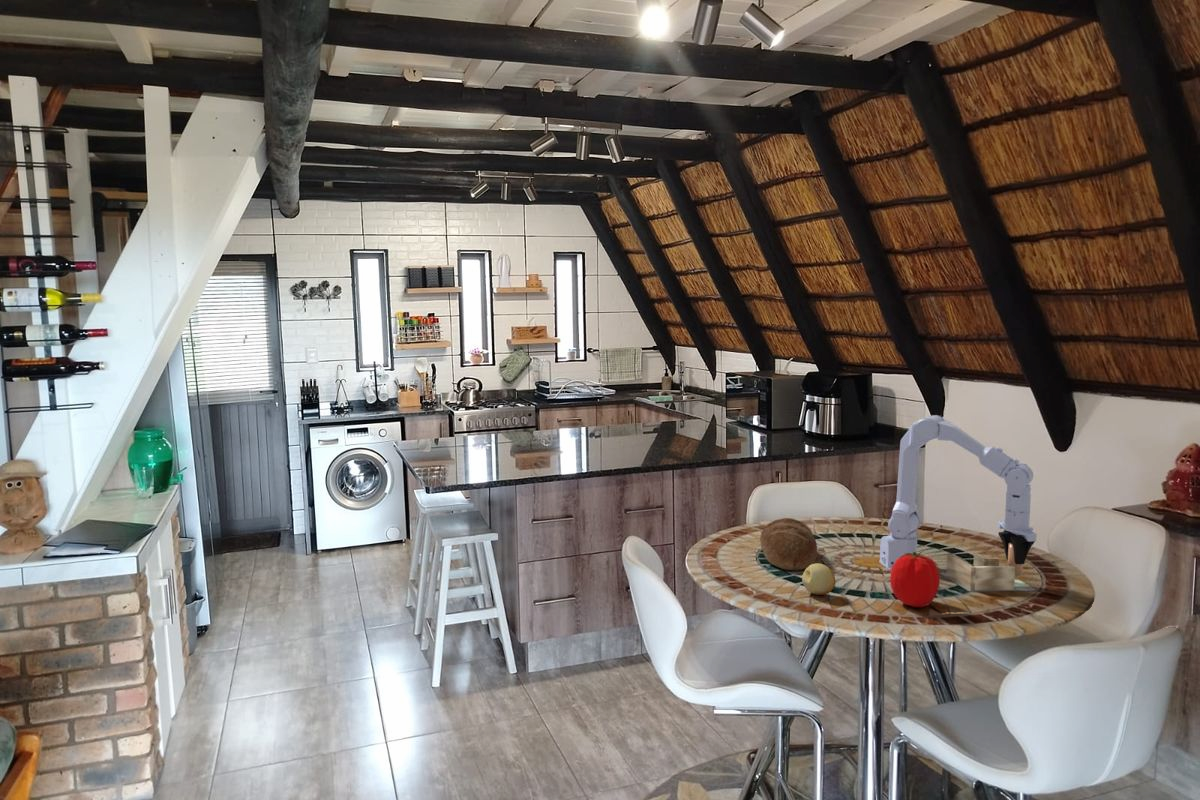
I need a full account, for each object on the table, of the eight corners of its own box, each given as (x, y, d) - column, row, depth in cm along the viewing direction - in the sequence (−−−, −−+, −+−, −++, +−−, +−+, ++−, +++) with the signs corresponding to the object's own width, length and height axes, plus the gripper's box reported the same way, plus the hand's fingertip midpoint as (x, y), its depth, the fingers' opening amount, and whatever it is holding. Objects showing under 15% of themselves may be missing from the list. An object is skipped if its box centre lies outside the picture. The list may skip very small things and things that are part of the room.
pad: (1010, 587, 214) (1010, 586, 214) (1000, 581, 219) (1000, 580, 219) (1029, 587, 214) (1029, 585, 214) (1018, 581, 219) (1018, 579, 219)
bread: (807, 546, 257) (808, 510, 256) (822, 573, 228) (824, 533, 227) (756, 544, 259) (757, 508, 258) (765, 571, 230) (766, 531, 229)
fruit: (803, 588, 215) (804, 558, 214) (836, 592, 212) (837, 561, 211) (799, 597, 208) (800, 566, 207) (833, 601, 205) (834, 569, 204)
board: (968, 593, 211) (969, 591, 211) (939, 574, 227) (939, 572, 227) (1036, 592, 212) (1036, 590, 212) (1002, 573, 228) (1002, 571, 228)
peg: (1012, 575, 215) (1013, 545, 214) (1004, 571, 218) (1006, 542, 217) (1025, 575, 215) (1026, 545, 214) (1017, 571, 218) (1018, 542, 218)
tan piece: (970, 590, 212) (971, 567, 211) (946, 575, 224) (947, 553, 224) (1014, 589, 212) (1015, 567, 212) (987, 574, 225) (988, 553, 225)
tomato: (901, 614, 196) (903, 559, 194) (881, 597, 208) (882, 545, 207) (949, 613, 196) (951, 559, 195) (926, 596, 208) (928, 545, 207)
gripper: (1049, 516, 208) (1046, 569, 209) (1016, 504, 222) (1014, 553, 224) (1022, 517, 208) (1019, 569, 209) (991, 504, 222) (989, 554, 223)
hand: (1015, 561), depth 216 cm, fingers closed on peg, 3 cm apart
